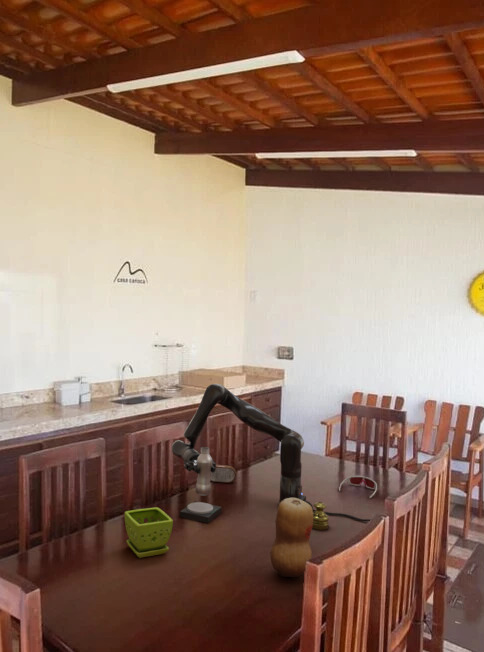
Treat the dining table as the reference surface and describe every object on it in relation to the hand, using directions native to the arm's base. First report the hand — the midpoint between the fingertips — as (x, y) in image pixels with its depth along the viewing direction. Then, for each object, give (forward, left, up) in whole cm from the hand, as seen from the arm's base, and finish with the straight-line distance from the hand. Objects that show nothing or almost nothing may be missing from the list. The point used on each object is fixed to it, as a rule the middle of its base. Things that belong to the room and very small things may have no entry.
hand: (206, 470), depth 225 cm
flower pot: (+4, +40, -20) cm, 44 cm away
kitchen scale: (+2, -1, -19) cm, 20 cm away
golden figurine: (-45, -15, -20) cm, 51 cm away
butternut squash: (-46, +31, -20) cm, 59 cm away
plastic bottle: (+2, -2, -11) cm, 11 cm away
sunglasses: (-52, -72, -20) cm, 91 cm away
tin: (+12, -46, -20) cm, 52 cm away
